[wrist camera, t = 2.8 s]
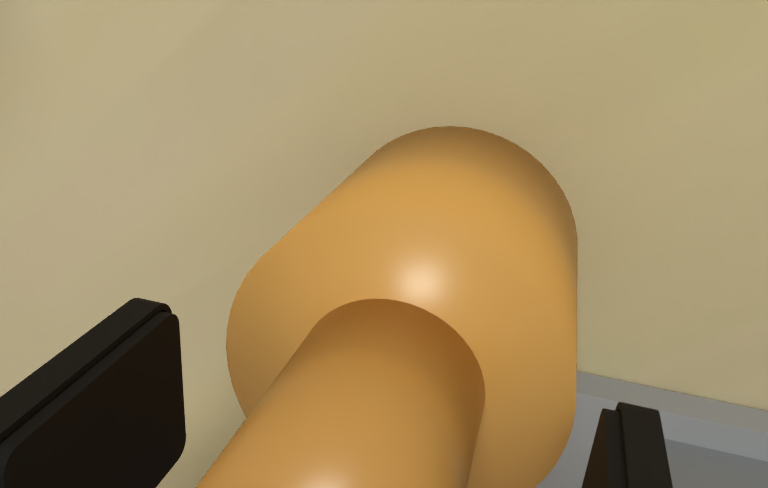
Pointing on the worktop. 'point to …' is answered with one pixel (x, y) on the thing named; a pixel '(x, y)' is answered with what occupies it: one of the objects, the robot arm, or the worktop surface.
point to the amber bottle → (411, 327)
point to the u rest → (673, 436)
